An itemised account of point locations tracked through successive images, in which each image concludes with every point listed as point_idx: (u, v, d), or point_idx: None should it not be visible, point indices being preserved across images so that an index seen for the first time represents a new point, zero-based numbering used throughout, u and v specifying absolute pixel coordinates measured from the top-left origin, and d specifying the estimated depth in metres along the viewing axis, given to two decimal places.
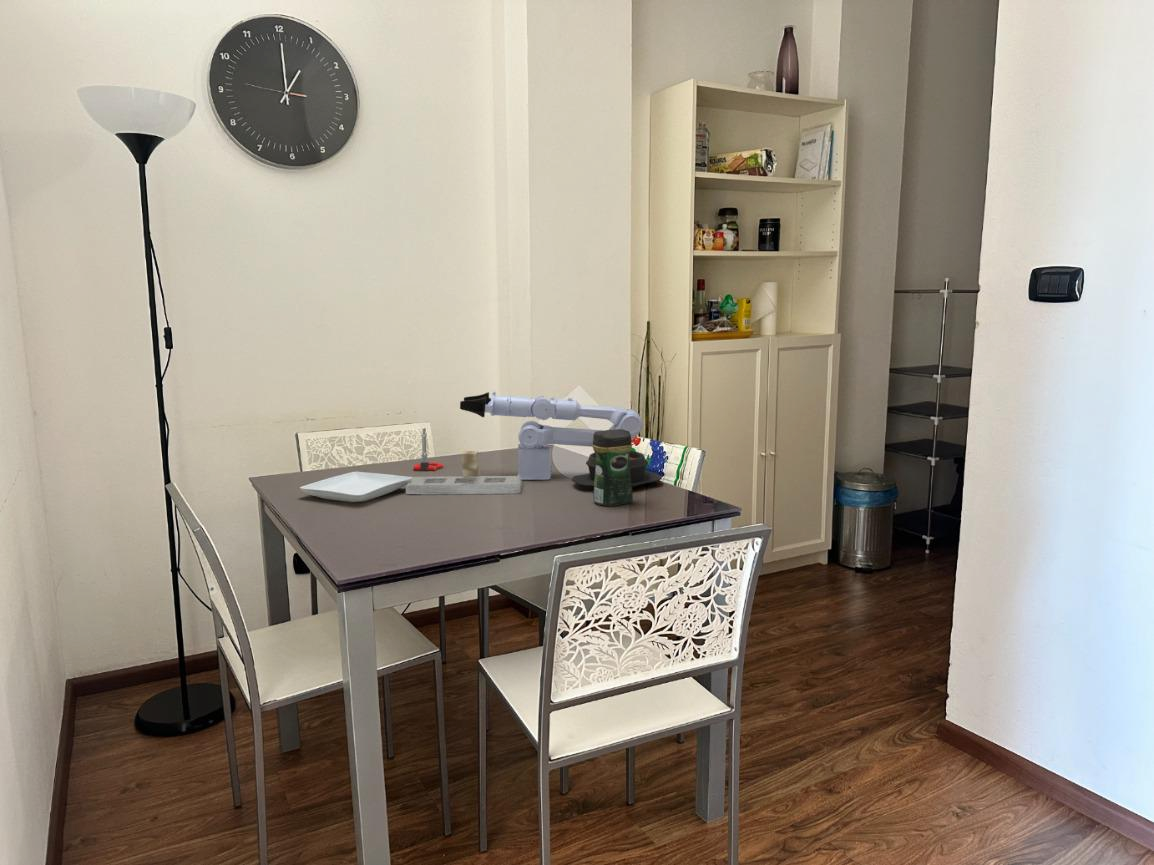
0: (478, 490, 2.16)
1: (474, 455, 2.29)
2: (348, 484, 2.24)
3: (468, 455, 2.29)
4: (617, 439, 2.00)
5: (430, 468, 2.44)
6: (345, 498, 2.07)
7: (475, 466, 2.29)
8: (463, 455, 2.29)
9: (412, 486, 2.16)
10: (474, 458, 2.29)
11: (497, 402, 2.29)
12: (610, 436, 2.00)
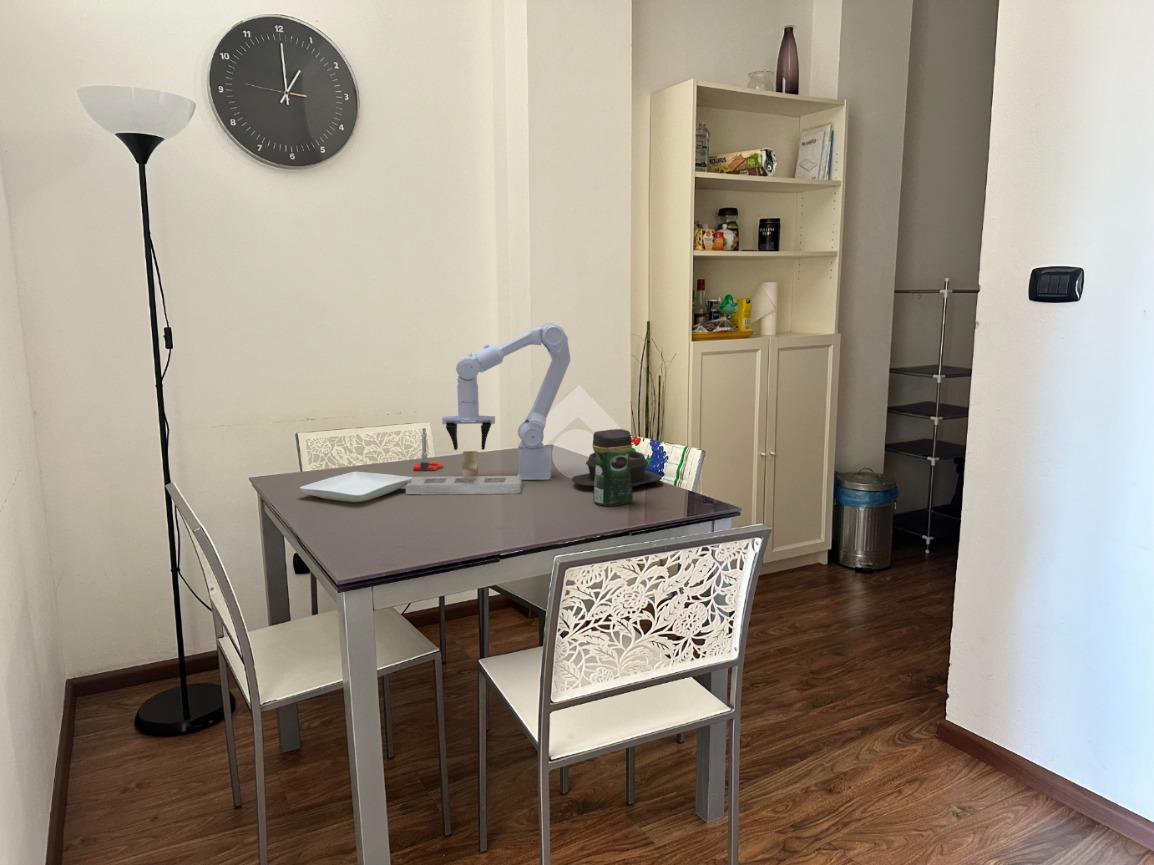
0: (478, 490, 2.16)
1: (474, 455, 2.29)
2: (348, 484, 2.24)
3: (468, 455, 2.29)
4: (617, 439, 2.00)
5: (430, 468, 2.44)
6: (345, 498, 2.07)
7: (475, 466, 2.29)
8: (463, 455, 2.29)
9: (412, 486, 2.16)
10: (474, 458, 2.29)
11: (477, 413, 2.28)
12: (610, 436, 2.00)
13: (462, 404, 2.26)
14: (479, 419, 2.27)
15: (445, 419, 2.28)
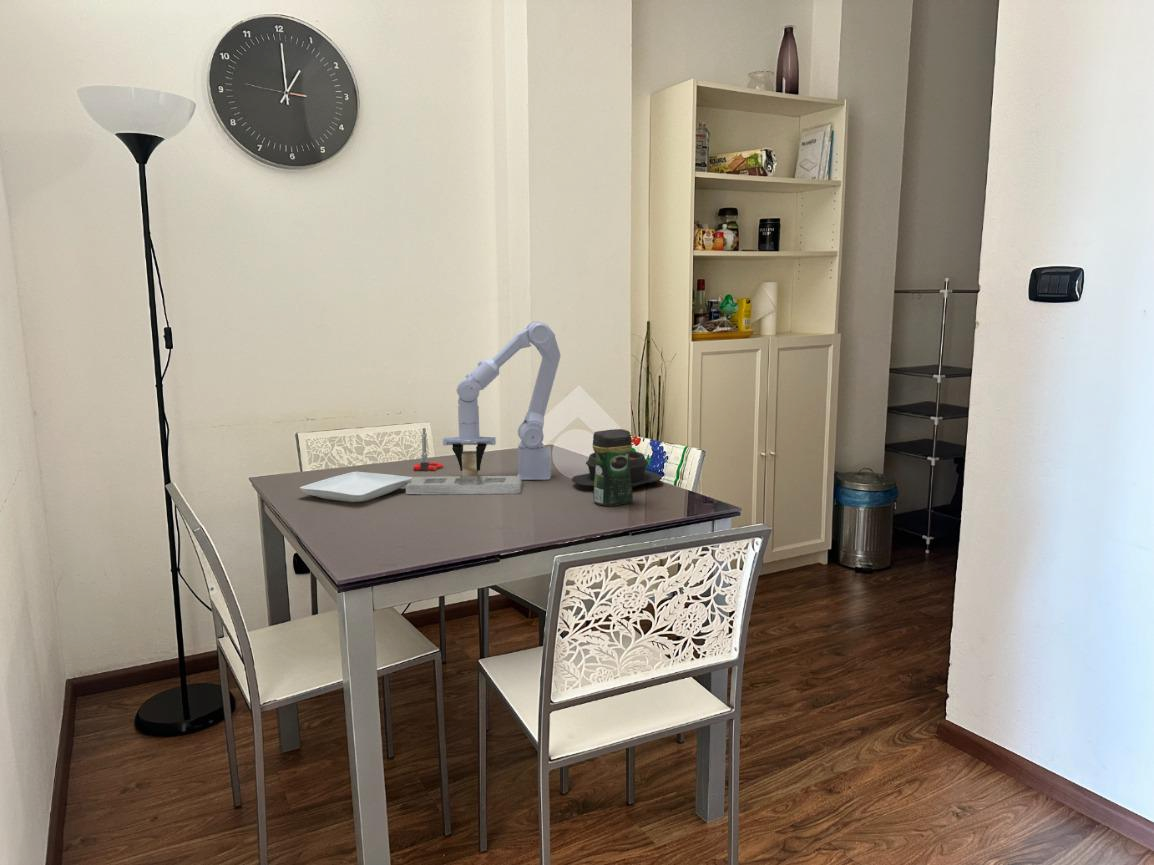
0: (478, 490, 2.16)
1: (474, 455, 2.29)
2: (348, 484, 2.24)
3: (468, 455, 2.29)
4: (617, 439, 2.00)
5: (430, 468, 2.44)
6: (345, 498, 2.07)
7: (475, 466, 2.29)
8: (463, 455, 2.29)
9: (412, 486, 2.16)
10: (474, 458, 2.29)
11: (477, 435, 2.29)
12: (610, 436, 2.00)
13: (463, 426, 2.27)
14: (480, 440, 2.28)
15: (446, 440, 2.29)
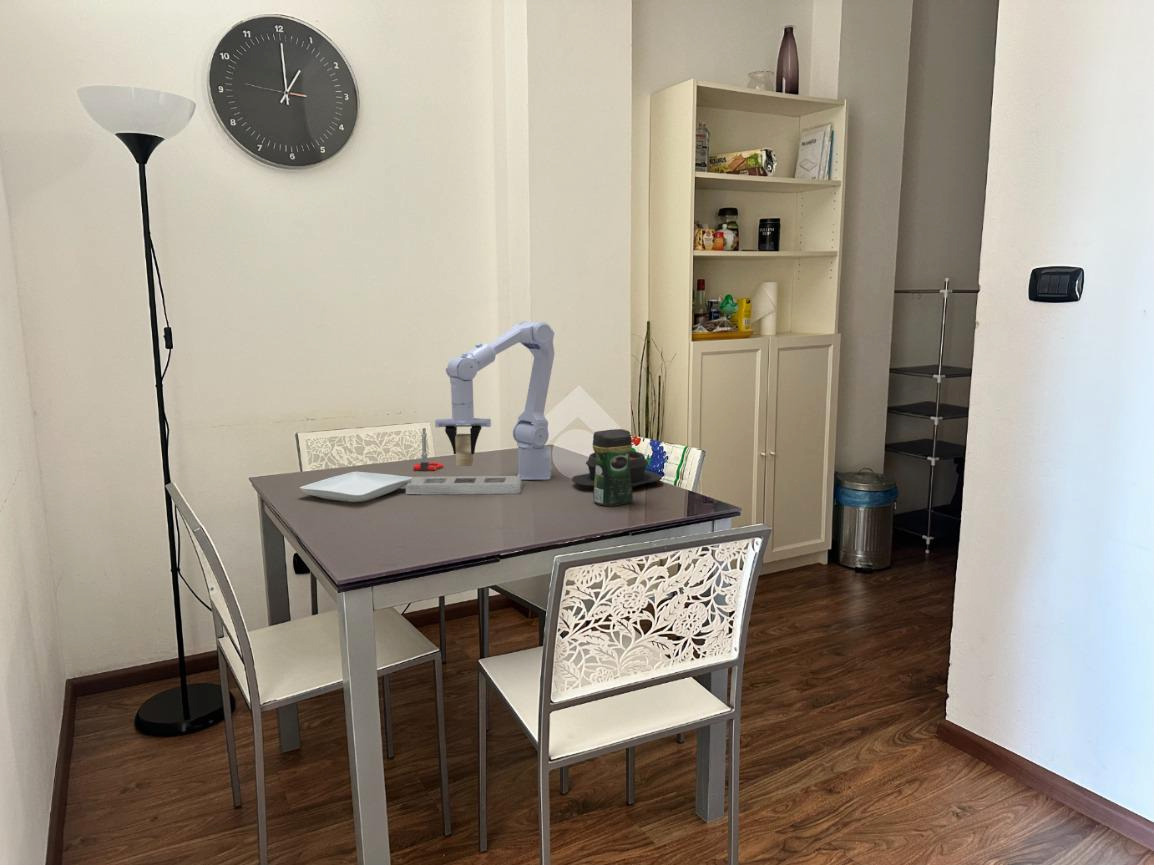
0: (478, 490, 2.16)
1: (468, 437, 2.17)
2: (348, 484, 2.24)
3: (462, 437, 2.17)
4: (617, 439, 2.00)
5: (430, 468, 2.44)
6: (345, 498, 2.07)
7: (469, 449, 2.18)
8: (457, 437, 2.17)
9: (412, 486, 2.16)
10: (468, 441, 2.17)
11: (472, 416, 2.17)
12: (610, 436, 2.00)
13: (456, 406, 2.15)
14: (474, 422, 2.16)
15: (438, 422, 2.17)
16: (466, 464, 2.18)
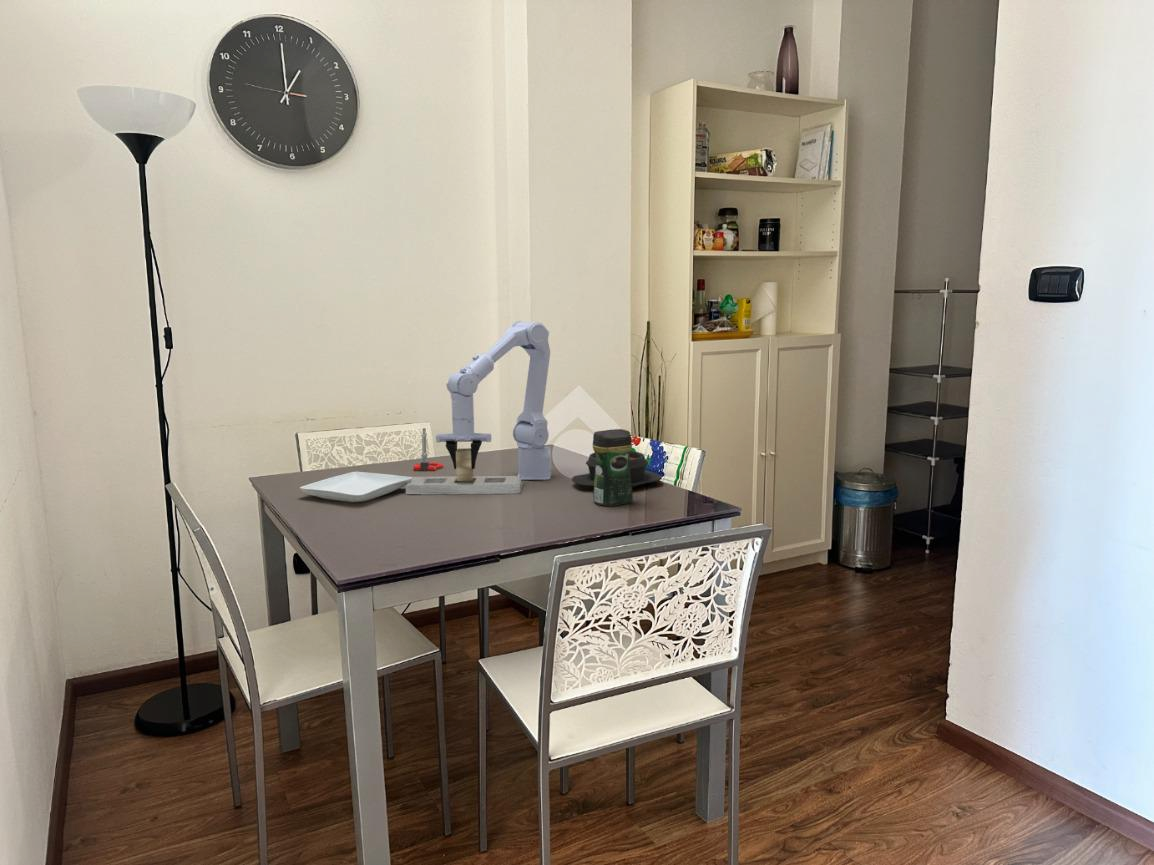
0: (478, 490, 2.16)
1: (469, 452, 2.18)
2: (348, 484, 2.24)
3: (463, 452, 2.18)
4: (617, 439, 2.00)
5: (430, 468, 2.44)
6: (345, 498, 2.07)
7: (470, 464, 2.18)
8: (457, 452, 2.18)
9: (412, 486, 2.16)
10: (469, 456, 2.18)
11: (472, 431, 2.17)
12: (610, 436, 2.00)
13: (457, 421, 2.15)
14: (474, 437, 2.17)
15: (439, 437, 2.18)
16: (466, 479, 2.19)
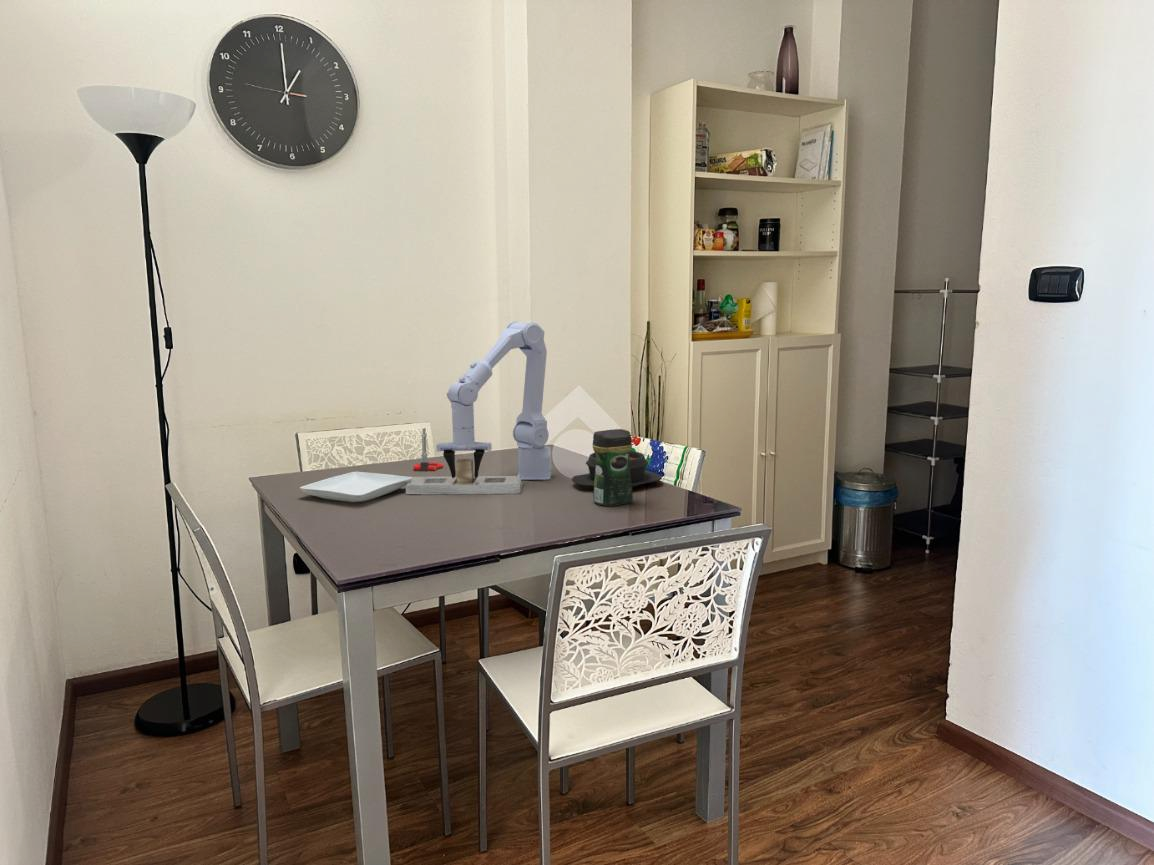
0: (478, 490, 2.16)
1: (469, 463, 2.18)
2: (348, 484, 2.24)
3: (463, 463, 2.18)
4: (617, 439, 2.00)
5: (430, 468, 2.44)
6: (345, 498, 2.07)
7: (470, 475, 2.19)
8: (457, 463, 2.18)
9: (412, 486, 2.16)
10: (469, 466, 2.18)
11: (472, 440, 2.18)
12: (610, 436, 2.00)
13: (457, 431, 2.16)
14: (475, 446, 2.17)
15: (439, 446, 2.18)
16: None
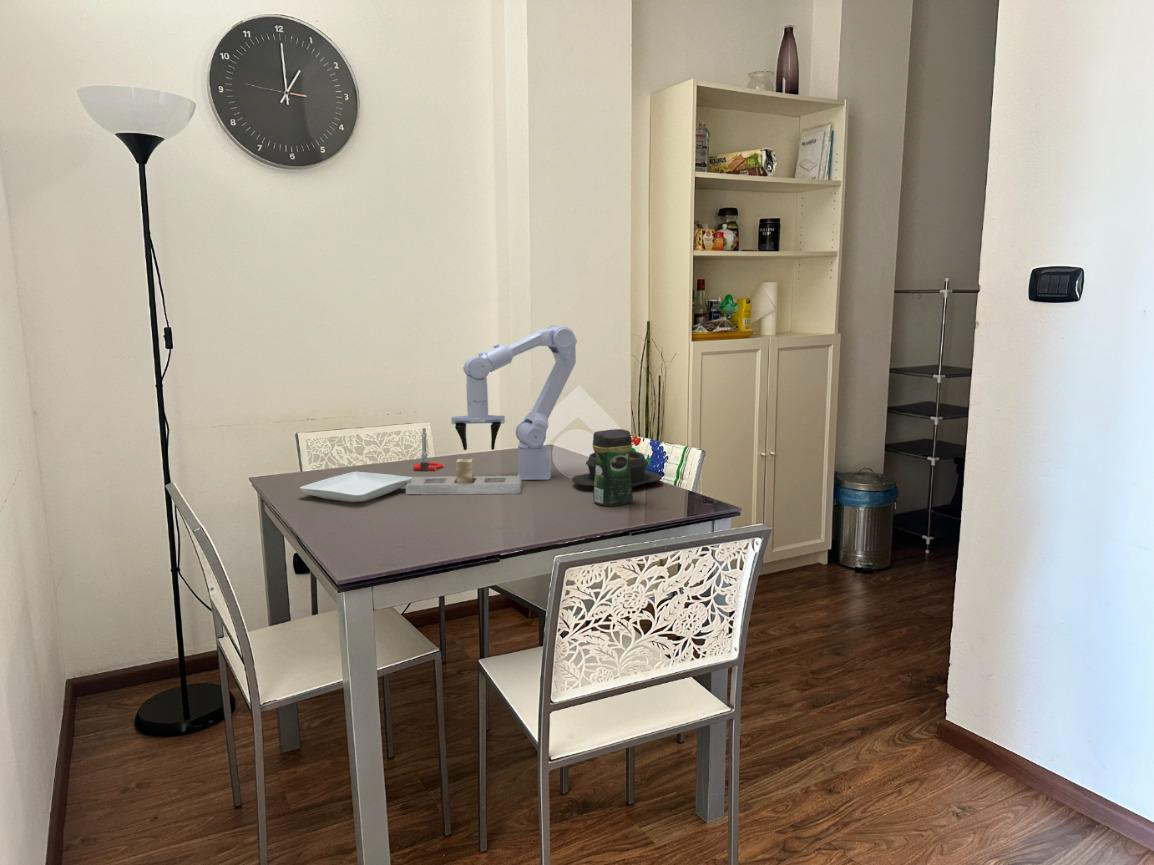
0: (478, 490, 2.16)
1: (469, 463, 2.18)
2: (348, 484, 2.24)
3: (463, 463, 2.18)
4: (617, 439, 2.00)
5: (430, 468, 2.44)
6: (345, 498, 2.07)
7: (470, 475, 2.19)
8: (457, 463, 2.18)
9: (412, 486, 2.16)
10: (469, 466, 2.18)
11: (486, 413, 2.25)
12: (610, 436, 2.00)
13: (471, 404, 2.23)
14: (489, 419, 2.25)
15: (454, 419, 2.25)
16: None
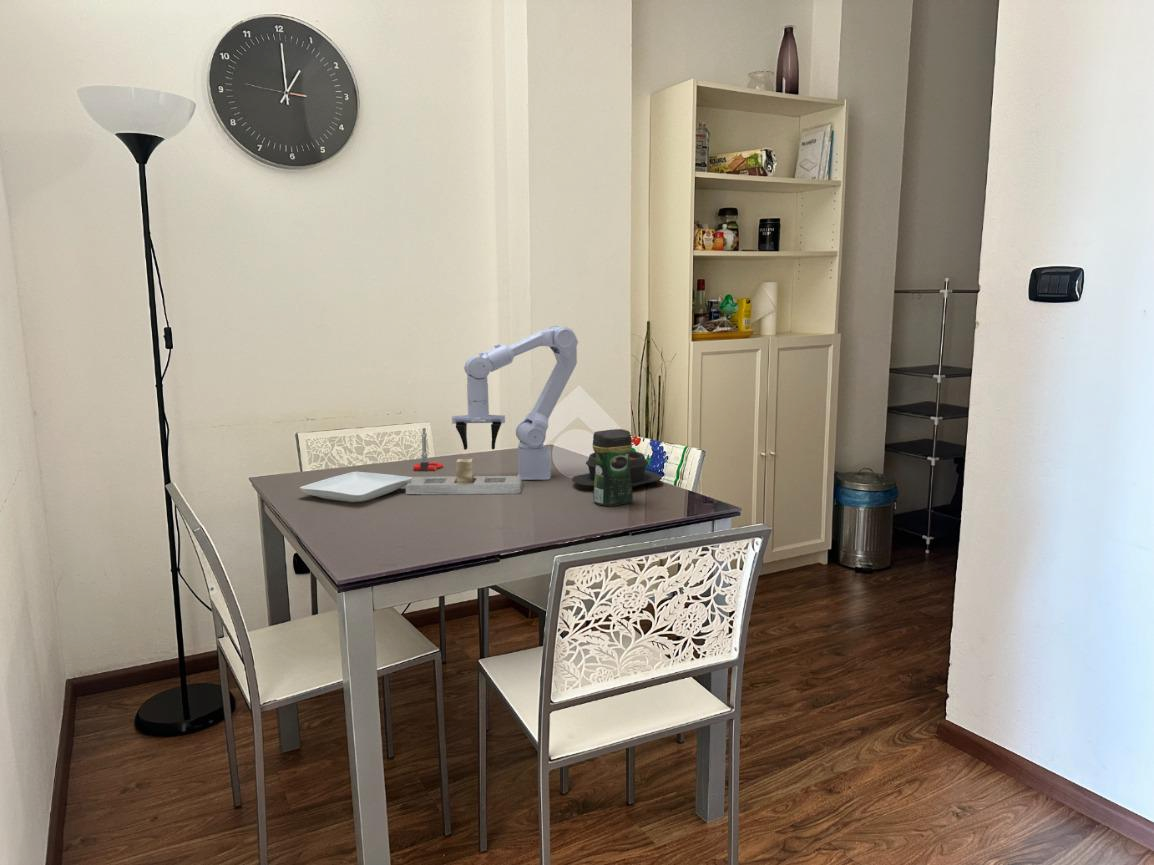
0: (478, 490, 2.16)
1: (469, 463, 2.18)
2: (348, 484, 2.24)
3: (463, 463, 2.18)
4: (617, 439, 2.00)
5: (430, 468, 2.44)
6: (345, 498, 2.07)
7: (470, 475, 2.19)
8: (457, 463, 2.18)
9: (412, 486, 2.16)
10: (469, 466, 2.18)
11: (487, 413, 2.25)
12: (610, 436, 2.00)
13: (472, 403, 2.24)
14: (489, 418, 2.25)
15: (455, 418, 2.26)
16: None
